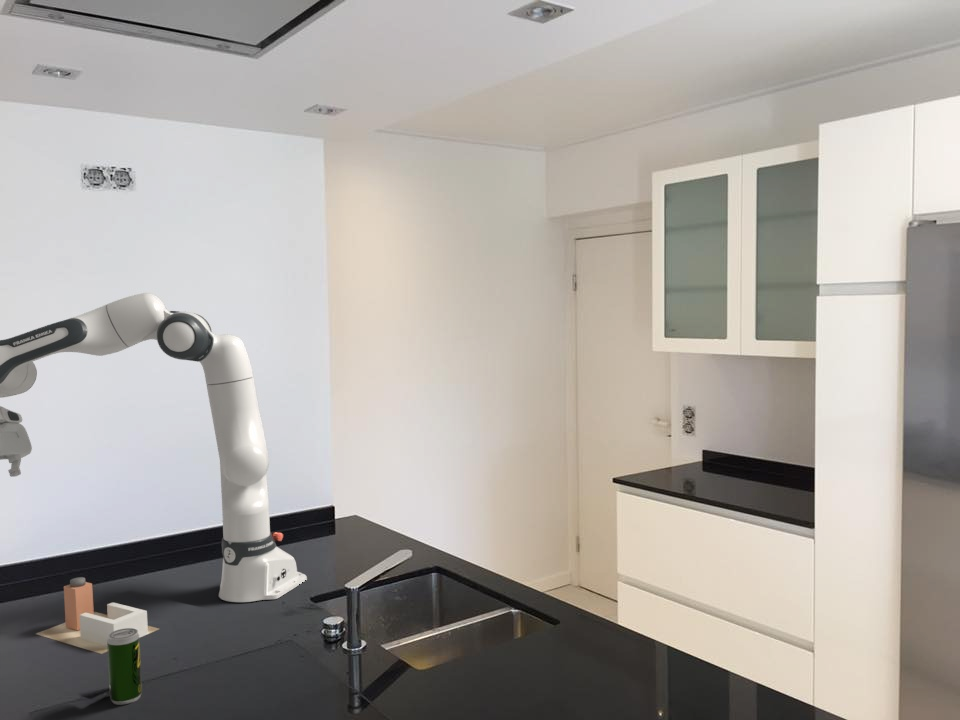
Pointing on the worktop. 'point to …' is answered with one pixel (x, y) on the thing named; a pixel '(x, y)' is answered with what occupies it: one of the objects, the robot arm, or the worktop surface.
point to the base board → (78, 636)
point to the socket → (112, 622)
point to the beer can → (124, 666)
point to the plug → (77, 601)
